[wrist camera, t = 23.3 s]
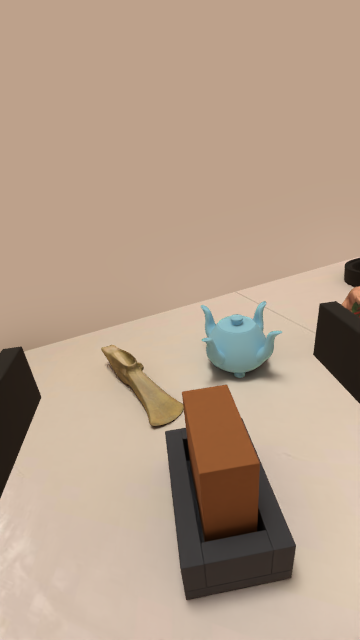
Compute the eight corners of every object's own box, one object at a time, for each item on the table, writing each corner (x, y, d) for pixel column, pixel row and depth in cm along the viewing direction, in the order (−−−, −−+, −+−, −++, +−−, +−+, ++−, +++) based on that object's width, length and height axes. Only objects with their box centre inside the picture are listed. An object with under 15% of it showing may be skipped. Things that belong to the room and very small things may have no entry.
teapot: (264, 344, 64) (266, 299, 60) (280, 384, 53) (284, 333, 48) (203, 347, 65) (200, 303, 61) (204, 387, 54) (201, 338, 49)
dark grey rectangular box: (186, 600, 28) (180, 569, 26) (169, 460, 41) (165, 431, 39) (291, 577, 29) (296, 545, 26) (242, 447, 42) (242, 418, 40)
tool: (190, 417, 49) (189, 396, 47) (155, 436, 46) (153, 414, 44) (129, 350, 66) (127, 332, 63) (101, 361, 63) (98, 342, 60)
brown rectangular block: (206, 555, 30) (198, 474, 24) (190, 465, 39) (181, 391, 33) (256, 545, 30) (260, 462, 25) (229, 458, 39) (227, 384, 33)
